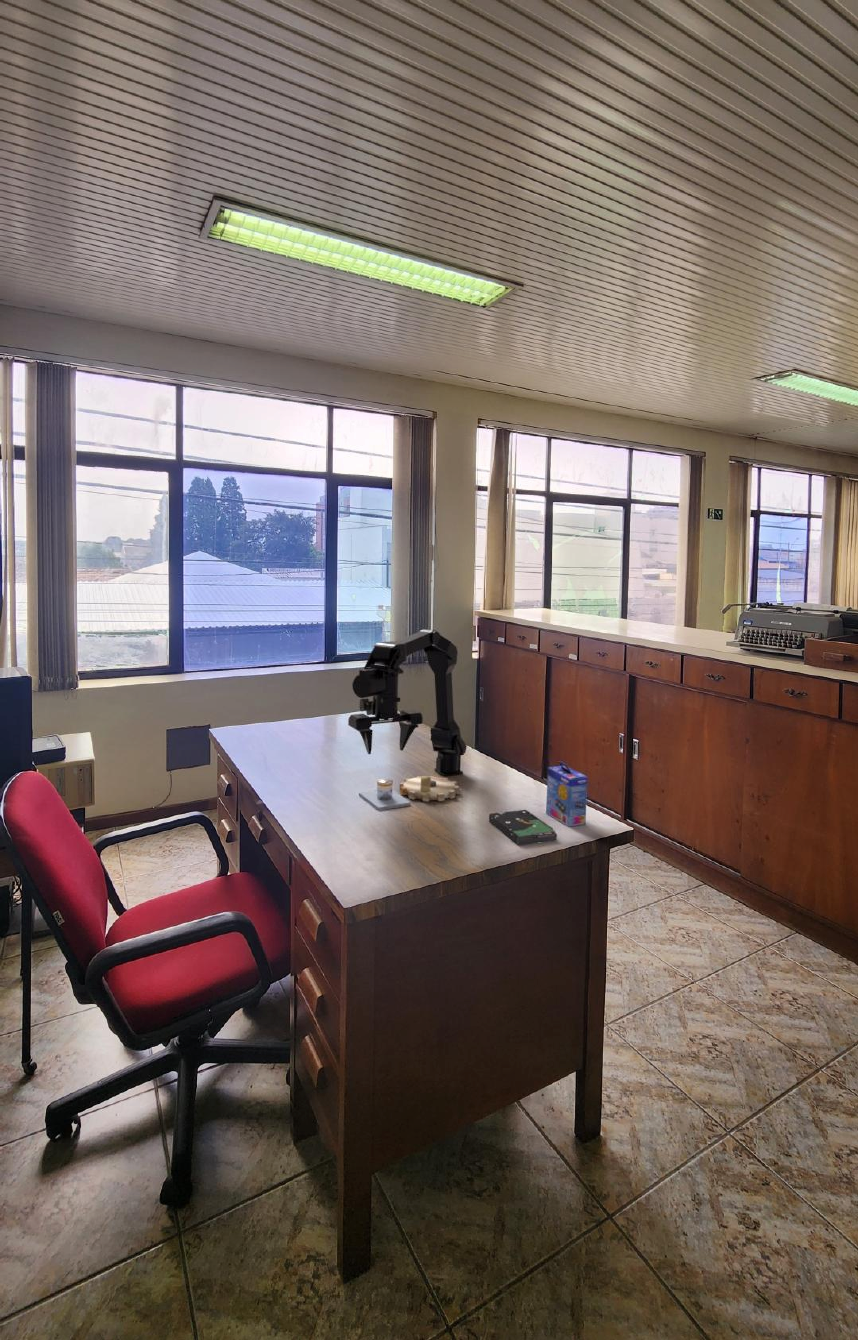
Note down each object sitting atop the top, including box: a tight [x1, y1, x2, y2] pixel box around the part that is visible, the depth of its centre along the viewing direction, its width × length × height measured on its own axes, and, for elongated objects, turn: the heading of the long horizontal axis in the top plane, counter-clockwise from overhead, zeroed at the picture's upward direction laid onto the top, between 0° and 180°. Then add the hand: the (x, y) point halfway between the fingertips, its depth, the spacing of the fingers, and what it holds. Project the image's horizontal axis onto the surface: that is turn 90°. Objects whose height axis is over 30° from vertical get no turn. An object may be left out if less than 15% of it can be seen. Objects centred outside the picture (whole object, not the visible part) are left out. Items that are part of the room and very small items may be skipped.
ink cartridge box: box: [545, 761, 588, 827], centre depth 165 cm, size 10×6×14 cm, turn 24°
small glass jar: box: [376, 777, 394, 800], centre depth 174 cm, size 4×4×4 cm
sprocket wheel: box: [399, 775, 460, 802], centre depth 182 cm, size 16×16×5 cm
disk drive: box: [488, 809, 558, 847], centre depth 157 cm, size 10×3×15 cm
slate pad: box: [358, 789, 411, 811], centre depth 175 cm, size 9×12×1 cm
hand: (385, 752), depth 173 cm, fingers open, 9 cm apart
